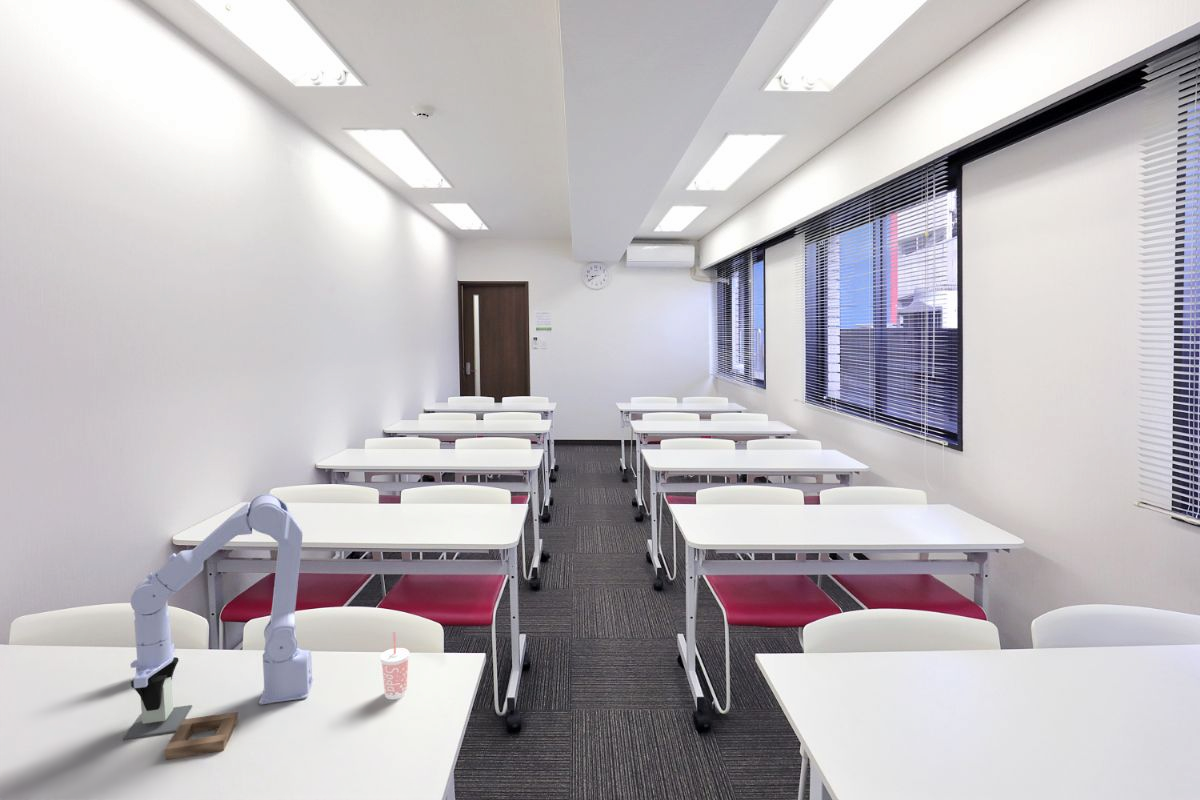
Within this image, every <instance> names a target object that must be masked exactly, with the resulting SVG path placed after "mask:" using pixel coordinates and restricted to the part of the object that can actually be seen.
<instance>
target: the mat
mask: <svg viewBox="0 0 1200 800" xmlns="http://www.w3.org/2000/svg"><path fill="white" fill-rule="evenodd" d="M192 708H193V704H189V705H188V704H187V705H182V706H175V707H174V706H173V710H172V712H171V713H170V715H169V716H168V718H167V719H166V720H165V721H158V722H152V723H145V724H142V712H141V713H140V715H139V716H138V717H137V719H136V720H135V721H134V722H133V724H132V726H130V728H129V729H128V731H127V732H126V733H125V735H123V737H122V740H123V741H125V740H132V739H138V738H144V737H145V738H146V737H147V738H148V737H152V736H159V735H167V734H173V733H174V734H175V733H176V731H177V729H178V728H179V726H180V725H181V723H182V721H183V720H184V719H186V717H187V716H188V714H189V712H190V711H191V709H192Z"/></svg>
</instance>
